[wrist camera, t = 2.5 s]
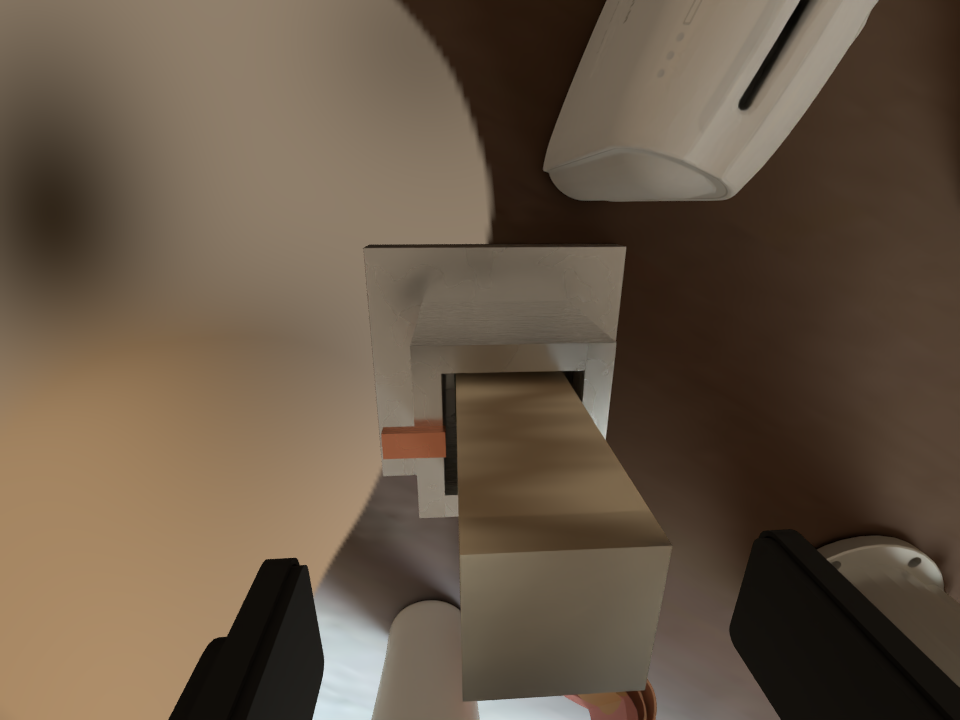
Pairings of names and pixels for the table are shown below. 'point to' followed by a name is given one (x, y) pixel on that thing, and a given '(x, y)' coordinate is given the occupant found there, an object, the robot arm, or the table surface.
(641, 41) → the photo printer
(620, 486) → the column
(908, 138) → the table surface
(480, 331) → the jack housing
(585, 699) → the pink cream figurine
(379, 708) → the drinking glass
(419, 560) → the table surface
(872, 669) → the robot arm
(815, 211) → the table surface
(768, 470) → the table surface
